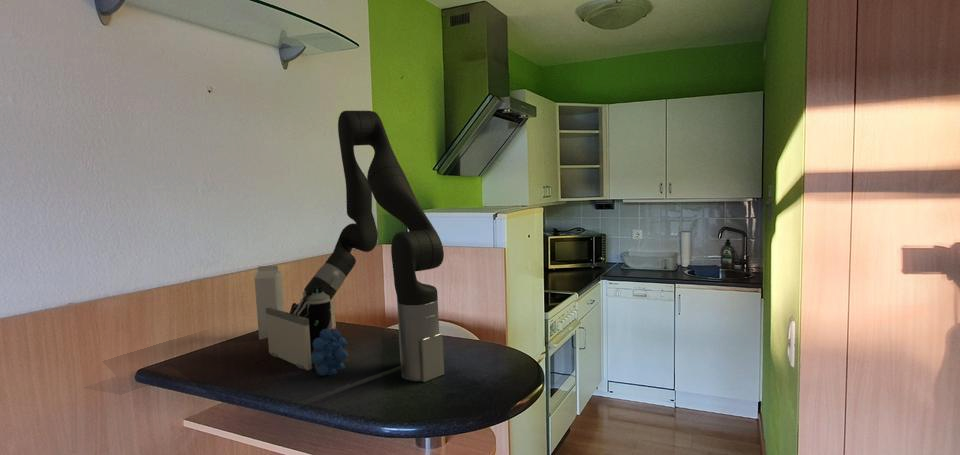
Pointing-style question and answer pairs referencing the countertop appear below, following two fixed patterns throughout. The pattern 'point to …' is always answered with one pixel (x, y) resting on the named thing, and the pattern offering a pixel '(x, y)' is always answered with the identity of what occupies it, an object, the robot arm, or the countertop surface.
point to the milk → (268, 295)
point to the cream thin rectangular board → (289, 337)
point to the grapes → (329, 352)
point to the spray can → (318, 314)
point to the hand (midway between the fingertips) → (285, 338)
